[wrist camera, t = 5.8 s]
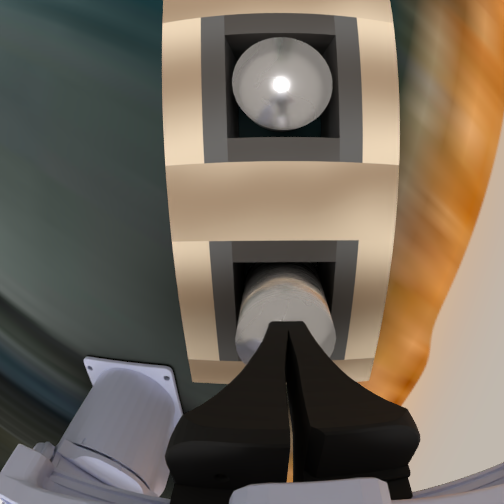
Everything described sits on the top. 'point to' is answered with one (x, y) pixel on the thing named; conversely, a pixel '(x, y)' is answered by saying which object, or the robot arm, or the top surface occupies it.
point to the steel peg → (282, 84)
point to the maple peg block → (280, 172)
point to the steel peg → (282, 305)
